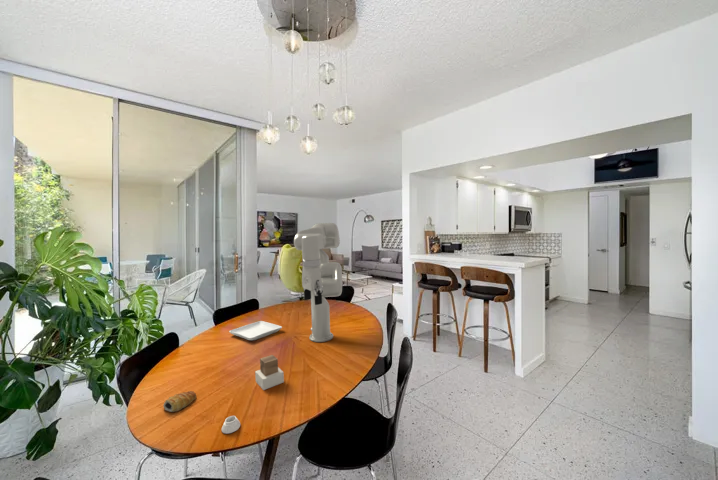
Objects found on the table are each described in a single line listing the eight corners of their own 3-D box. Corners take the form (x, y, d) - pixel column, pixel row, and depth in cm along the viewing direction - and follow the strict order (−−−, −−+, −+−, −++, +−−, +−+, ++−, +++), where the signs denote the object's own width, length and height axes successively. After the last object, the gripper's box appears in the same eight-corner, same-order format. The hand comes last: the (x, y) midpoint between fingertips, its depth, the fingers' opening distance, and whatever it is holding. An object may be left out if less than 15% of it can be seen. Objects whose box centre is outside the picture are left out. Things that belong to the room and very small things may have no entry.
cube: (260, 371, 110) (259, 358, 110) (273, 366, 113) (272, 354, 113) (265, 376, 106) (264, 363, 106) (278, 371, 109) (277, 358, 109)
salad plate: (260, 325, 176) (260, 319, 176) (283, 331, 164) (283, 326, 164) (228, 336, 159) (227, 330, 159) (250, 344, 147) (250, 338, 146)
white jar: (218, 433, 83) (233, 435, 82) (217, 424, 83) (233, 425, 82) (228, 422, 88) (243, 423, 87) (228, 412, 88) (243, 414, 87)
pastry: (189, 394, 103) (188, 384, 103) (201, 399, 100) (200, 388, 100) (161, 409, 95) (160, 398, 95) (173, 415, 92) (173, 403, 92)
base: (255, 381, 110) (255, 371, 110) (275, 374, 115) (275, 364, 115) (263, 390, 104) (262, 379, 104) (283, 382, 109) (283, 371, 109)
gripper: (294, 262, 129) (296, 299, 130) (313, 267, 115) (314, 308, 117) (309, 260, 133) (311, 296, 135) (329, 264, 120) (330, 304, 121)
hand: (313, 301), depth 126 cm, fingers open, 9 cm apart
